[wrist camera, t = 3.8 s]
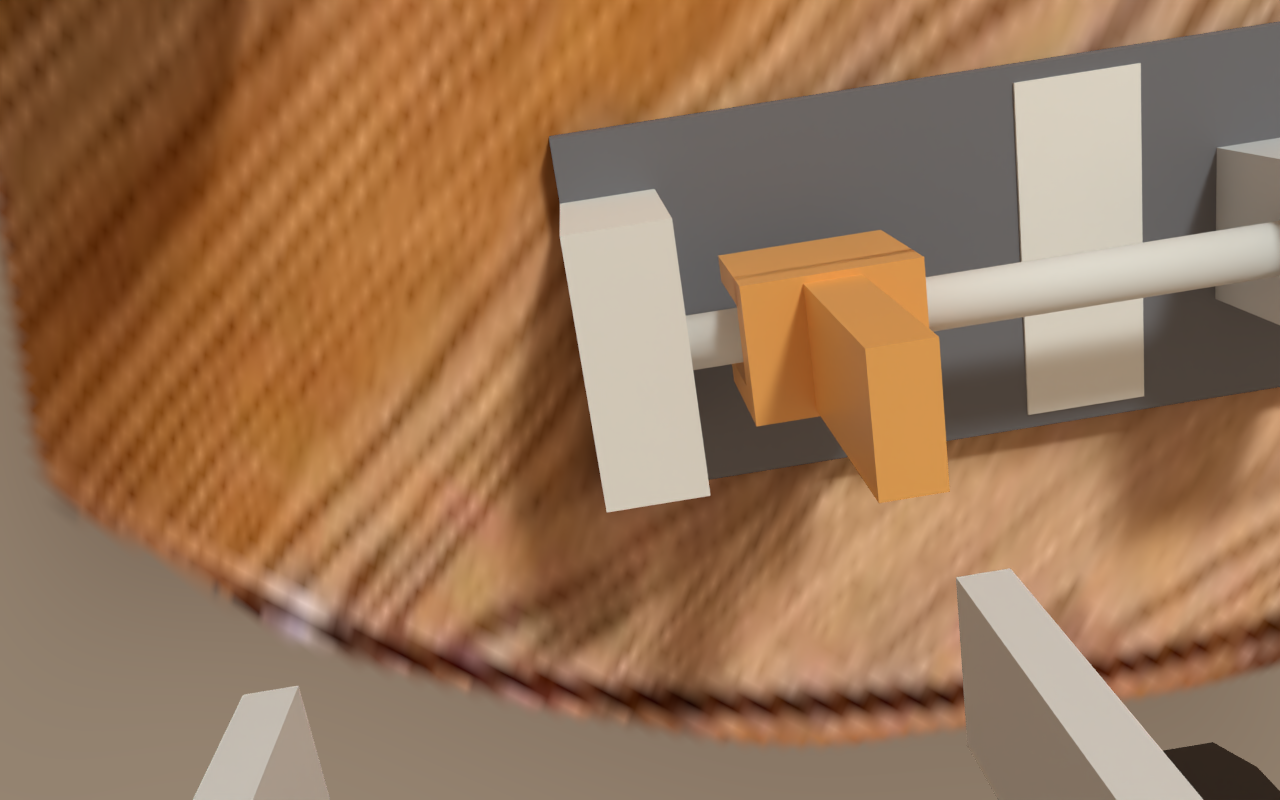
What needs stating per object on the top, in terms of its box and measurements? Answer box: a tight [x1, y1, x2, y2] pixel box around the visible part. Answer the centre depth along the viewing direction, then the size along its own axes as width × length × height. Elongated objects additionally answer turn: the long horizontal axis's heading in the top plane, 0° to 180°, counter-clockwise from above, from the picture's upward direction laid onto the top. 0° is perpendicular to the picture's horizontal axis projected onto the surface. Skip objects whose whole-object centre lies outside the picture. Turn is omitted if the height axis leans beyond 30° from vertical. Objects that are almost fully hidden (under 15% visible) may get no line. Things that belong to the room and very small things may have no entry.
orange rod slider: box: [718, 230, 950, 503], centre depth 30 cm, size 5×4×11 cm
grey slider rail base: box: [549, 22, 1280, 512], centre depth 35 cm, size 26×12×8 cm, turn 98°
